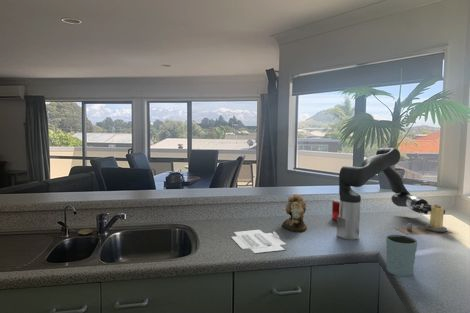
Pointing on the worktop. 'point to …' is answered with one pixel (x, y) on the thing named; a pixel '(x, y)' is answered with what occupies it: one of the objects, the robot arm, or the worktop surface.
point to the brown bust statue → (295, 214)
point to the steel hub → (436, 229)
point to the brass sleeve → (436, 217)
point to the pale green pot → (400, 254)
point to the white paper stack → (258, 241)
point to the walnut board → (417, 230)
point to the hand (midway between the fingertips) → (435, 212)
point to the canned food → (335, 209)
